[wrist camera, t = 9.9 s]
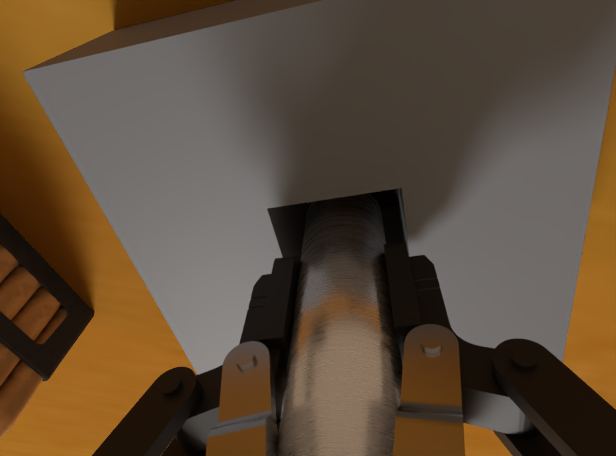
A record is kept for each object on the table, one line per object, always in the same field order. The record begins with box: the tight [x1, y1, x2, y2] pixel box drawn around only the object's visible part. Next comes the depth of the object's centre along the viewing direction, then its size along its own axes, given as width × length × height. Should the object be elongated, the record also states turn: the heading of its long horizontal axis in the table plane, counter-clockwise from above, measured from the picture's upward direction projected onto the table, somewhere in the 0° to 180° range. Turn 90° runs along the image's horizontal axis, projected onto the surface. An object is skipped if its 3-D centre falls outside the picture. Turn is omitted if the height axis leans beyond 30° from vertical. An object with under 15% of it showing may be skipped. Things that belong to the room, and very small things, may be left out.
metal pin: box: [278, 193, 403, 456], centre depth 13 cm, size 3×3×10 cm
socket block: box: [22, 0, 616, 375], centre depth 18 cm, size 16×16×6 cm
